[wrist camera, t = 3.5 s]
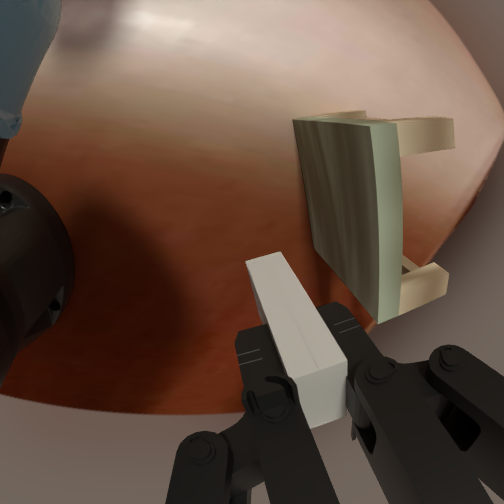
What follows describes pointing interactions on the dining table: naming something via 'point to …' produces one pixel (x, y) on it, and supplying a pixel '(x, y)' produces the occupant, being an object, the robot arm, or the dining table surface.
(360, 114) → the footstool
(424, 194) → the dining table surface
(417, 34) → the dining table surface
